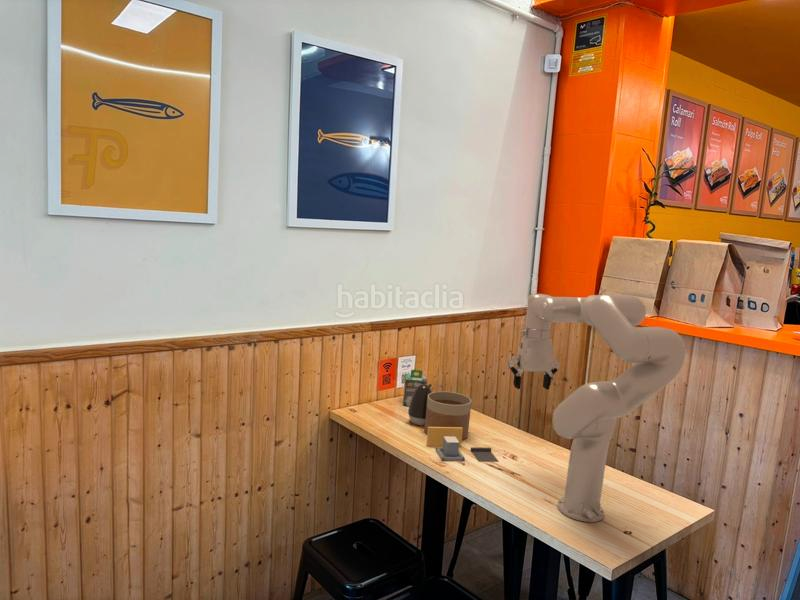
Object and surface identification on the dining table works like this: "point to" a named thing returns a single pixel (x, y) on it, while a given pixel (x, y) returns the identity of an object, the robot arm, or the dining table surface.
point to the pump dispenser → (419, 404)
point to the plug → (450, 446)
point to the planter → (448, 411)
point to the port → (436, 440)
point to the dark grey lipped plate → (483, 454)
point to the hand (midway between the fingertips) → (531, 388)
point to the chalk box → (412, 385)
